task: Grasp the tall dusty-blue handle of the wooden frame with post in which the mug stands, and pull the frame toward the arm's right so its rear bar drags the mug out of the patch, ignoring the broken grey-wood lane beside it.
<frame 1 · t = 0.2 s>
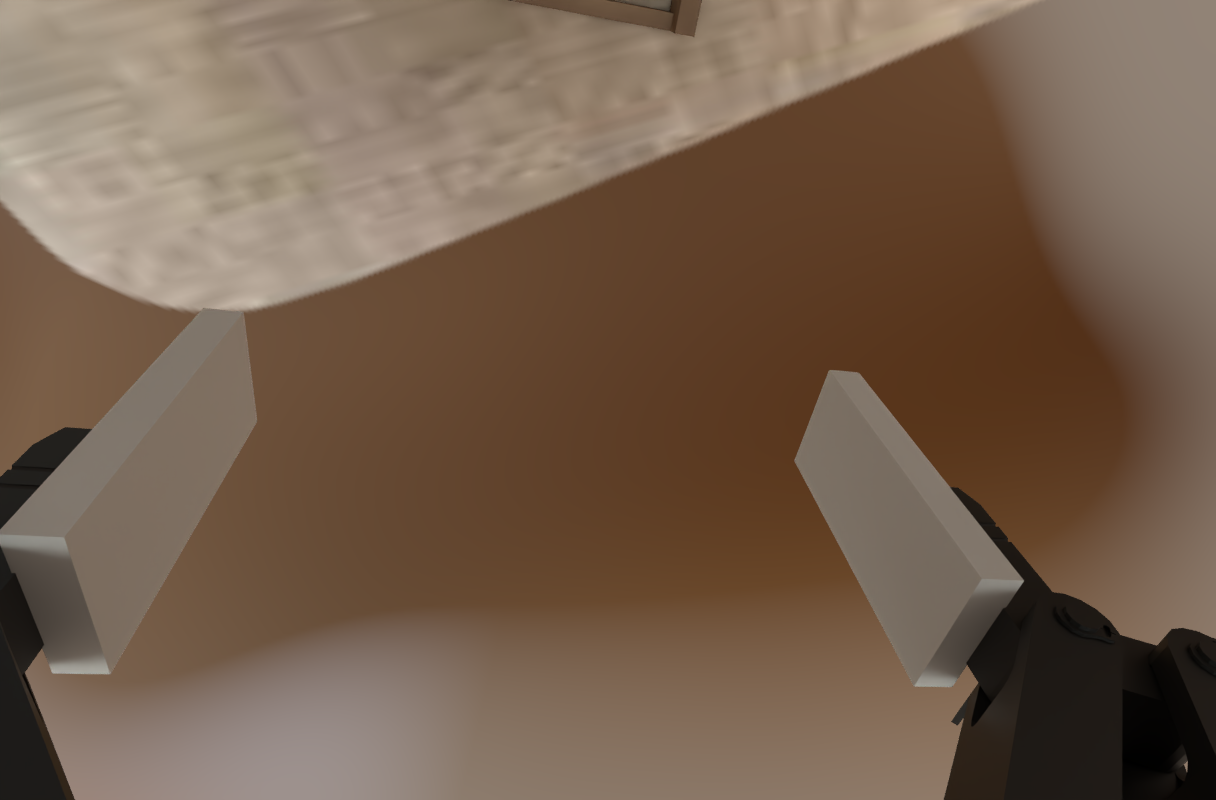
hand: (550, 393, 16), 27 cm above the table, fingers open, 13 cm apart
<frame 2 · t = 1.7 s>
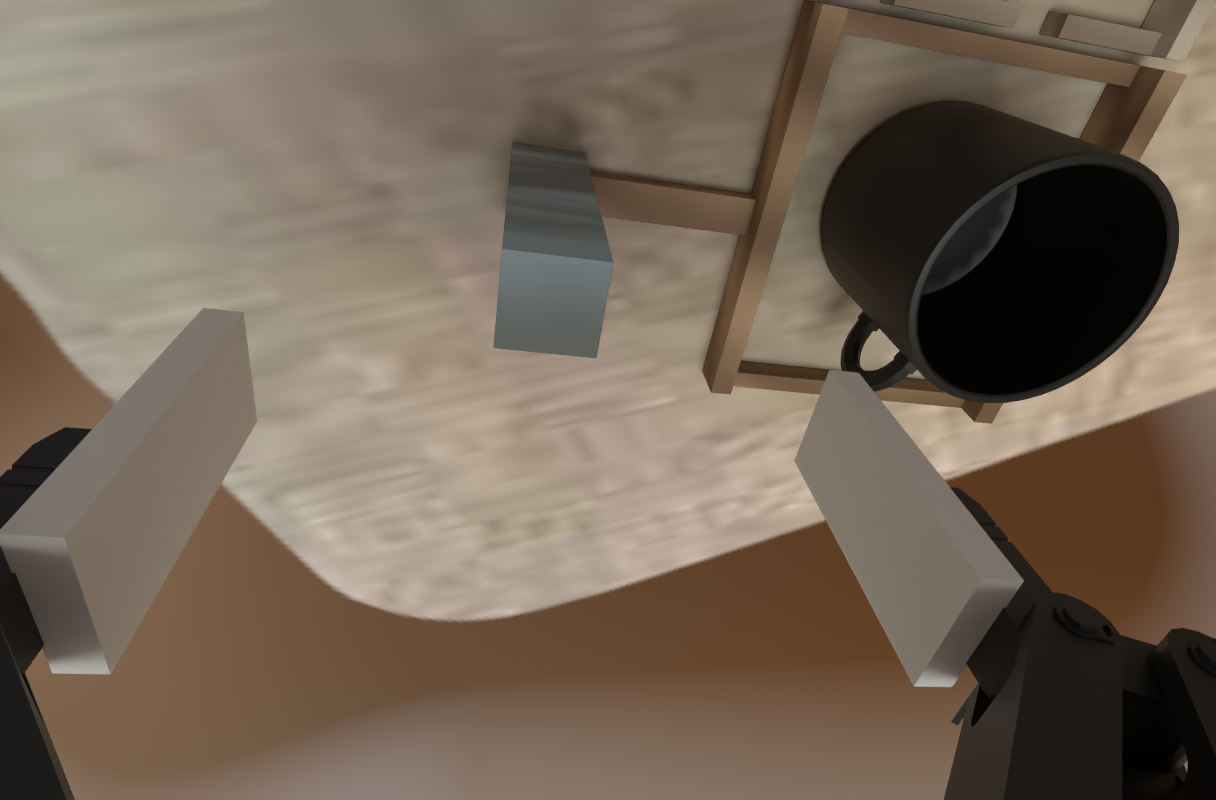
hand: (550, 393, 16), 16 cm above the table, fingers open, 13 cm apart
mug: (897, 231, 32), resting in wooden frame with post
wooden frame with post: (843, 270, 26), point 6 cm above the table, slide at 0.0 cm
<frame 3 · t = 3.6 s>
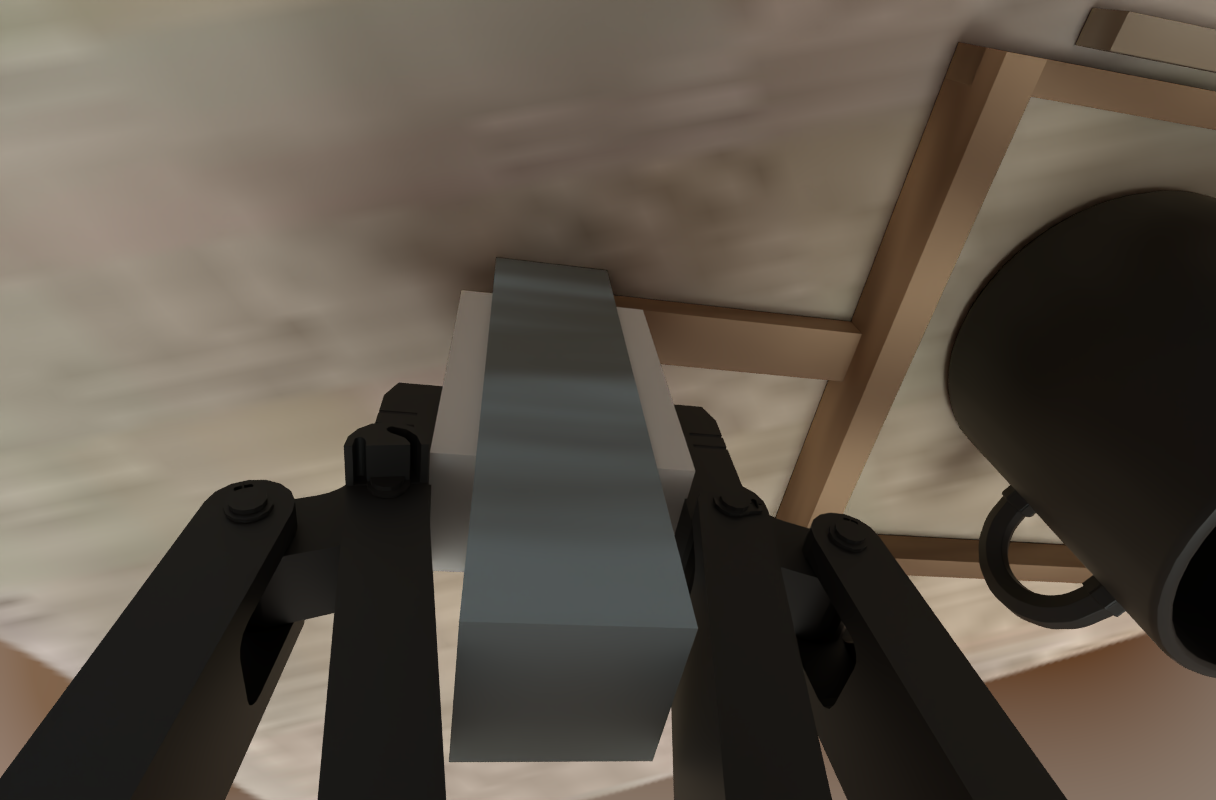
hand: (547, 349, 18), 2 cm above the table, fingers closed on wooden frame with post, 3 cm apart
mug: (1052, 364, 22), resting in wooden frame with post
wooden frame with post: (1027, 474, 16), point 6 cm above the table, slide at 0.0 cm, touching gripper
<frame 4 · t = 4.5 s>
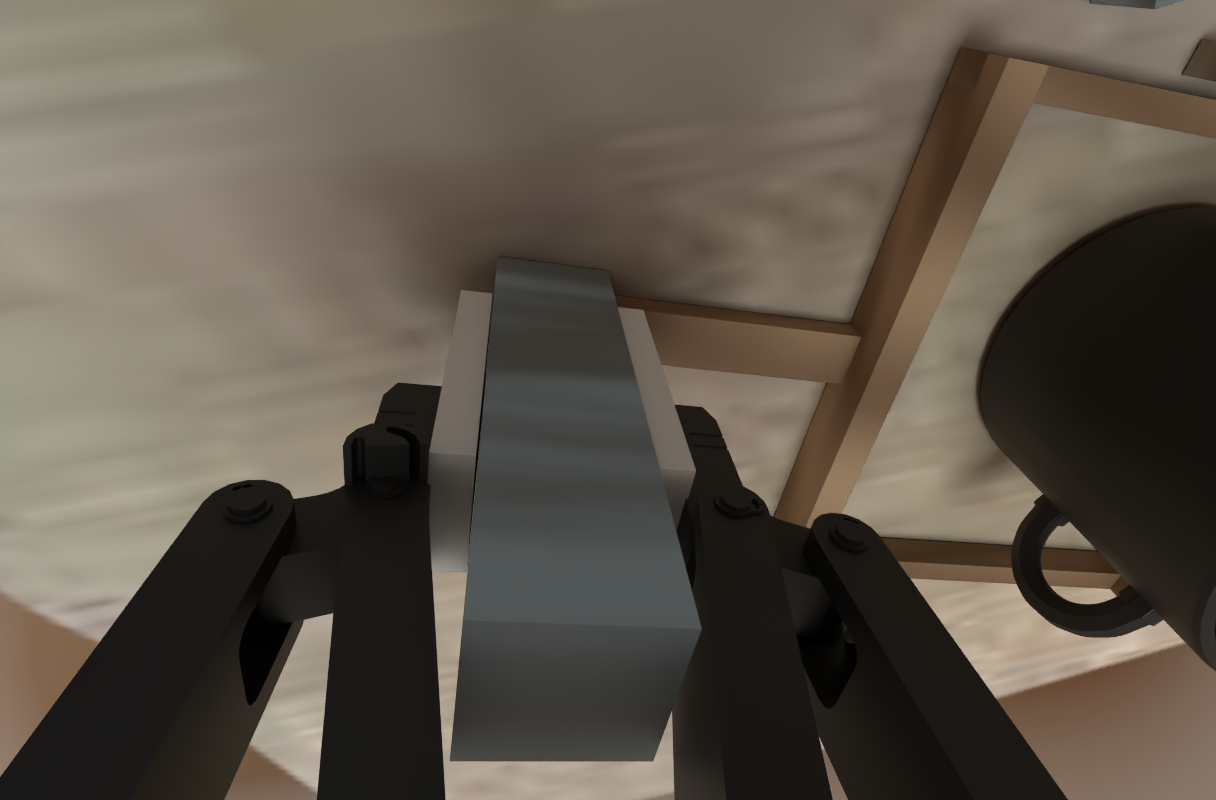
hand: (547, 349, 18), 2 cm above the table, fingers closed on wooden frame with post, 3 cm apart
mug: (1083, 375, 23), resting in wooden frame with post
wooden frame with post: (1025, 478, 16), point 6 cm above the table, slide at 3.2 cm, touching gripper, mug
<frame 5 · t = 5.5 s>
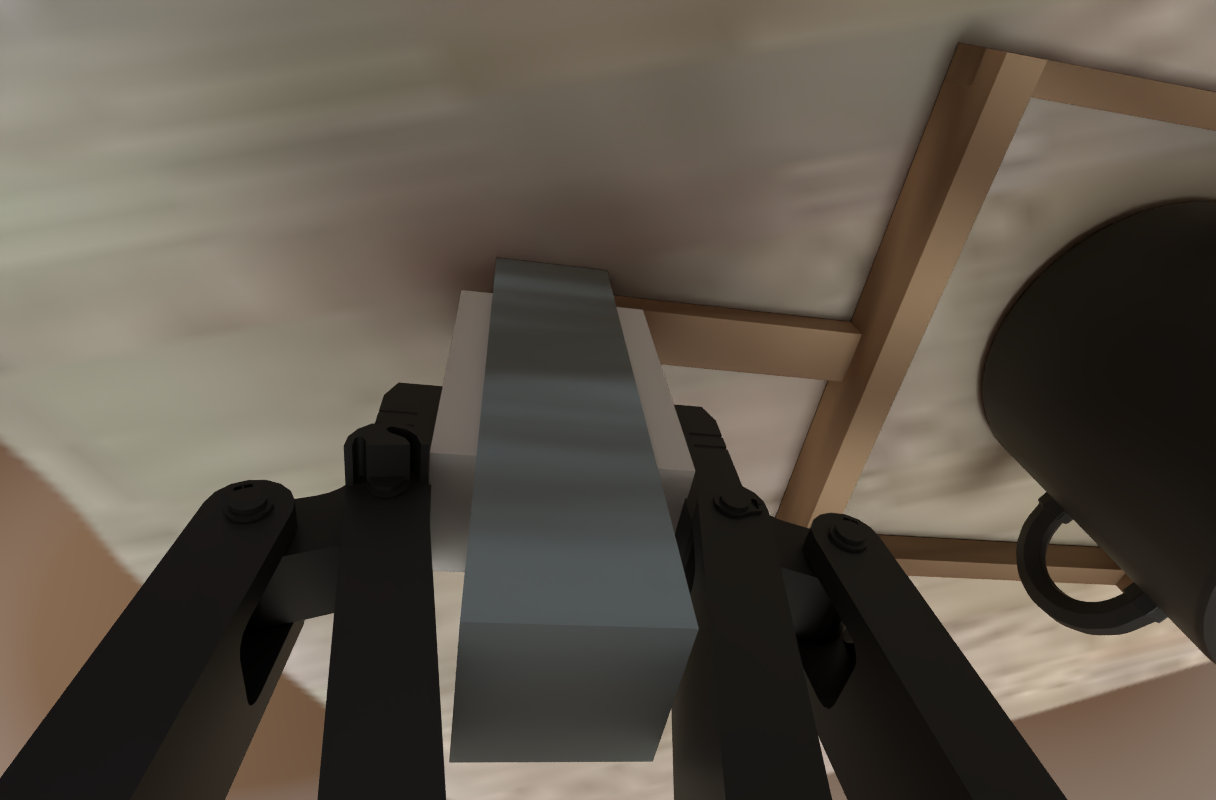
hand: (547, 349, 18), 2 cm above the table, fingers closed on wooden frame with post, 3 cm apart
mug: (1085, 371, 23), resting in wooden frame with post
wooden frame with post: (1027, 475, 16), point 6 cm above the table, slide at 7.9 cm, touching gripper
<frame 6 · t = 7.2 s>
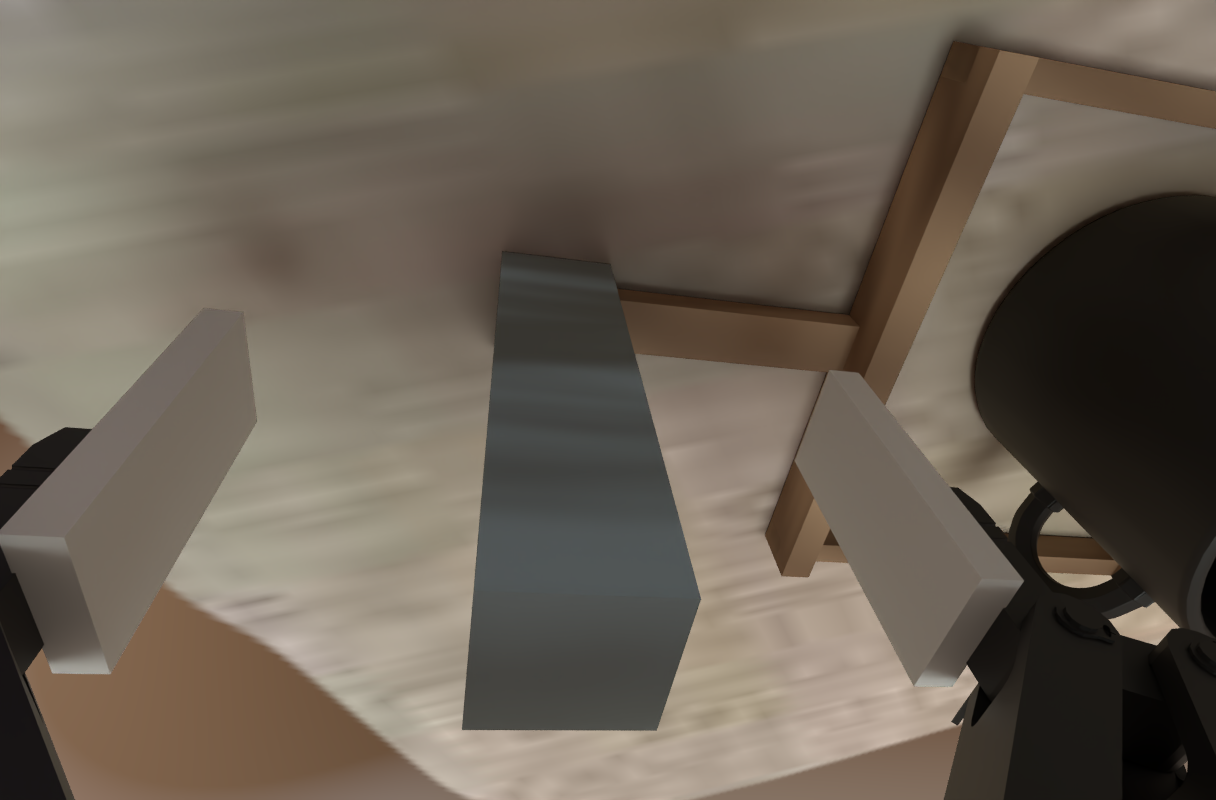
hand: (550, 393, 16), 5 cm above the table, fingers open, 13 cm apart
mug: (1076, 363, 23), resting in wooden frame with post
wooden frame with post: (1020, 462, 17), point 6 cm above the table, slide at 7.9 cm
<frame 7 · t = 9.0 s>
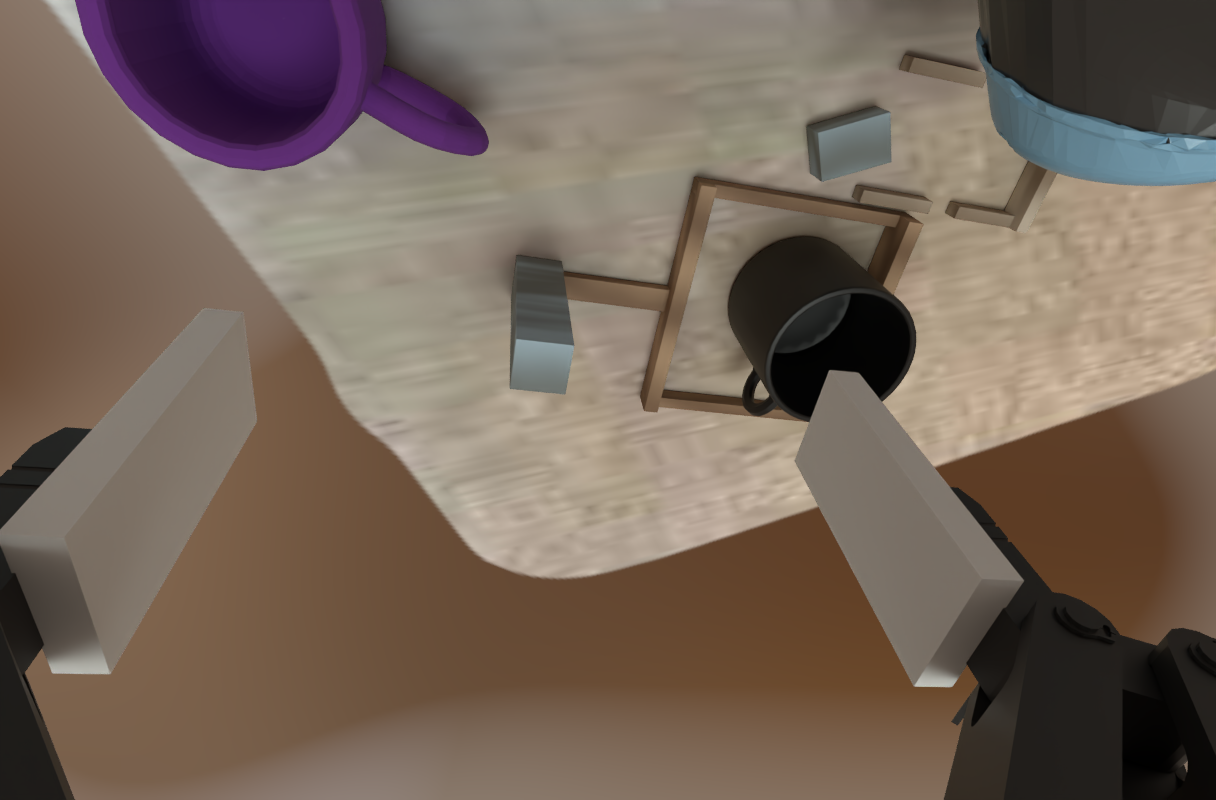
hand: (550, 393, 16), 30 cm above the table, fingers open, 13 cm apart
mug 2: (345, 46, 38), on the table
mug: (778, 311, 50), resting in wooden frame with post
wooden frame with post: (716, 339, 43), point 6 cm above the table, slide at 7.9 cm
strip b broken: (960, 145, 45), on the table
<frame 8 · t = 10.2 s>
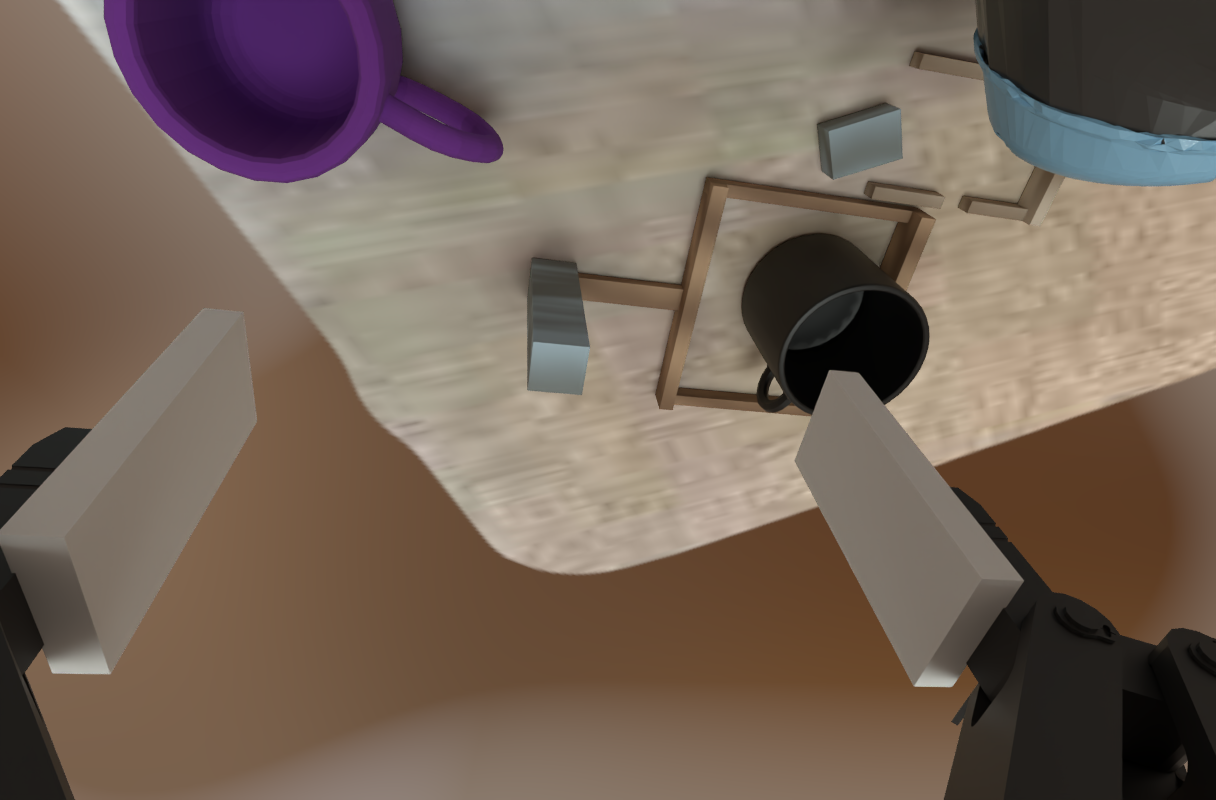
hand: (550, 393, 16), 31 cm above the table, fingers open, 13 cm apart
mug 2: (363, 58, 39), on the table
mug: (792, 308, 50), resting in wooden frame with post
wooden frame with post: (729, 338, 44), point 6 cm above the table, slide at 7.9 cm
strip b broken: (972, 140, 45), on the table
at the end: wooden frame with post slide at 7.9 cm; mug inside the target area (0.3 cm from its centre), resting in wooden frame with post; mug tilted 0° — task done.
